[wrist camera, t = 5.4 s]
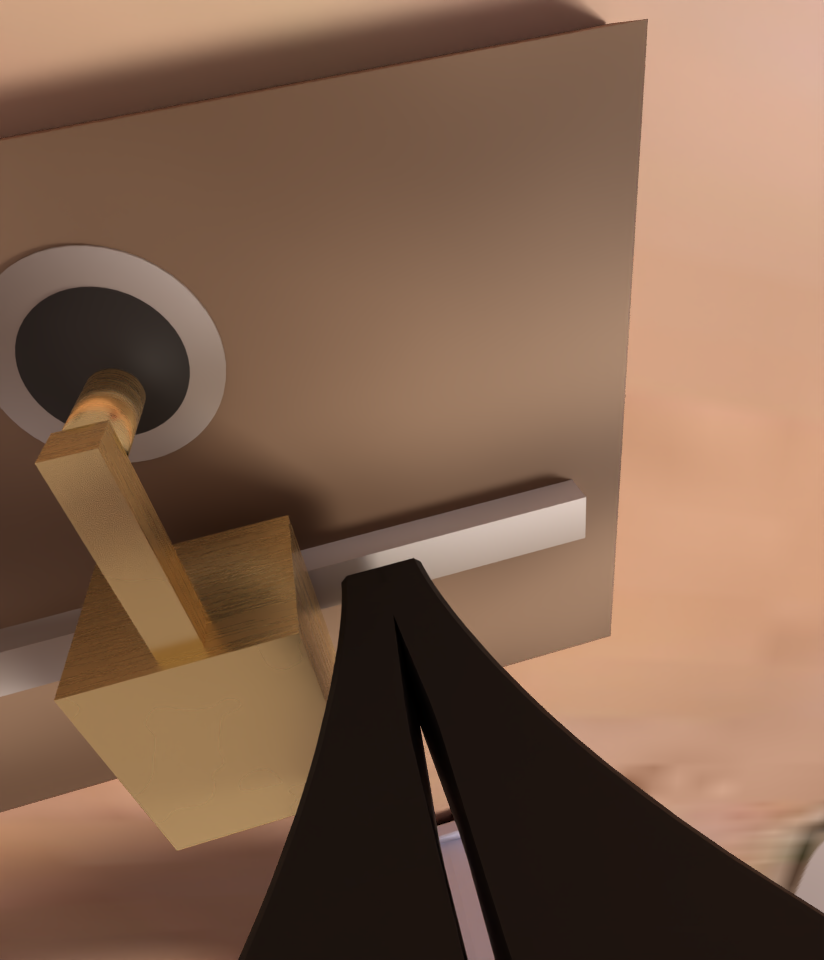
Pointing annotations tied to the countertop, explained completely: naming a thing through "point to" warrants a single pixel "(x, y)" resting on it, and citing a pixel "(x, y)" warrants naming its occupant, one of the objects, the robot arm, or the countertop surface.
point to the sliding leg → (185, 640)
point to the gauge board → (332, 342)
